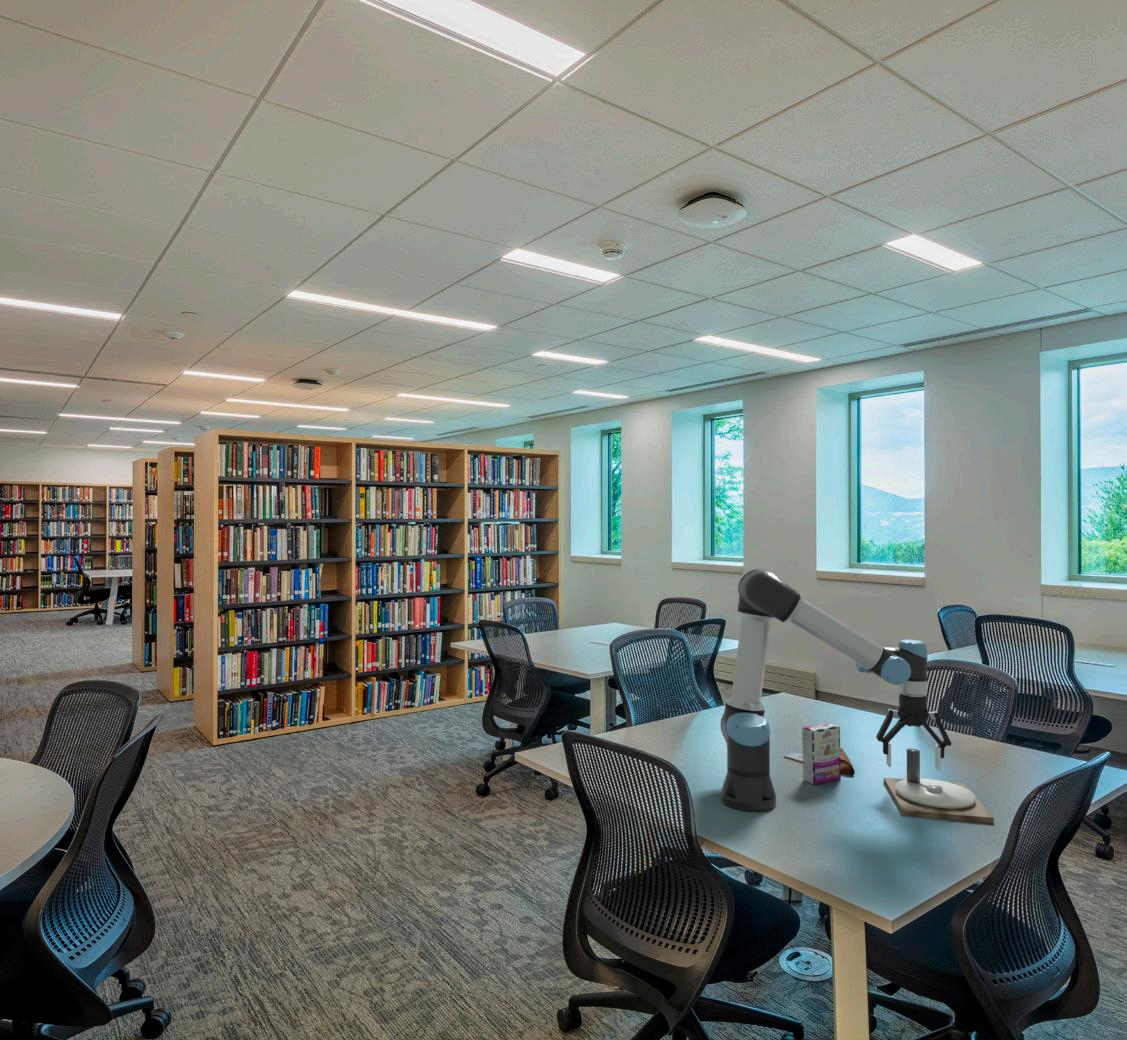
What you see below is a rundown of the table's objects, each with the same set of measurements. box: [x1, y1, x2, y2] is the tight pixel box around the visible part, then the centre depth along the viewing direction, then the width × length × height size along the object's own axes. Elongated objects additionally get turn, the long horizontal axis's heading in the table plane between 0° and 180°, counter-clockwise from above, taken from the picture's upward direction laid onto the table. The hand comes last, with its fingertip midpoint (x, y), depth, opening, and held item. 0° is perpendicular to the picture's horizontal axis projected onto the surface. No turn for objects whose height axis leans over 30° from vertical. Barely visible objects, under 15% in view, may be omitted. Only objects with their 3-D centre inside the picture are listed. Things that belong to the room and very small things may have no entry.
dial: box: [896, 748, 976, 809], centre depth 206 cm, size 20×20×10 cm
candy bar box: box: [801, 722, 842, 786], centre depth 223 cm, size 11×5×16 cm, turn 115°
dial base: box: [883, 777, 995, 824], centre depth 206 cm, size 22×26×2 cm
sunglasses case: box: [840, 747, 856, 777], centre depth 236 cm, size 18×7×7 cm
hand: (913, 767), depth 214 cm, fingers open, 12 cm apart
